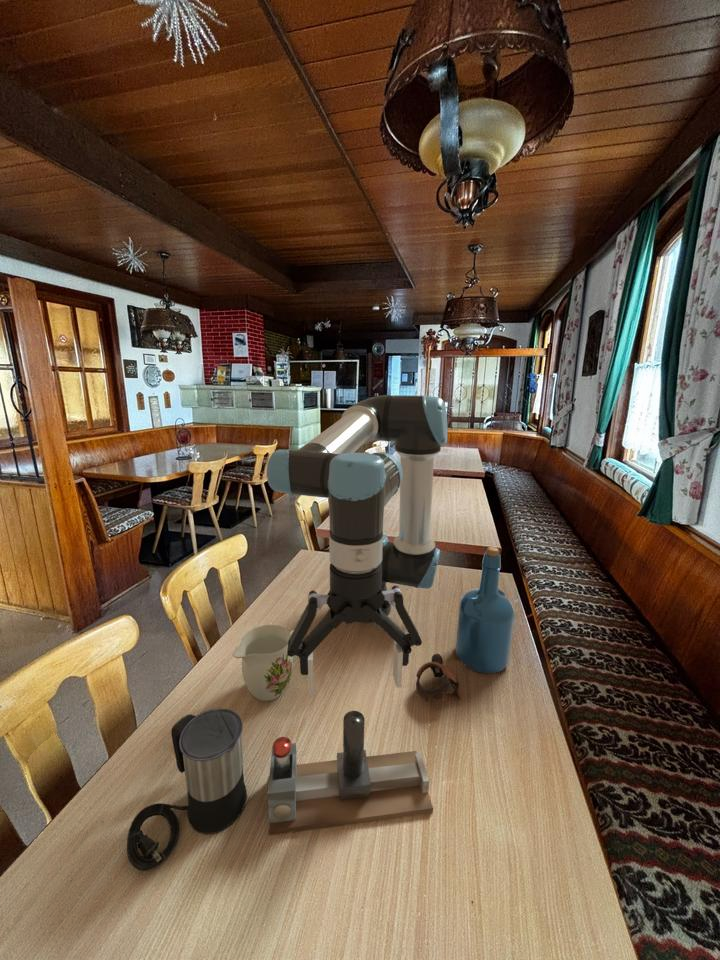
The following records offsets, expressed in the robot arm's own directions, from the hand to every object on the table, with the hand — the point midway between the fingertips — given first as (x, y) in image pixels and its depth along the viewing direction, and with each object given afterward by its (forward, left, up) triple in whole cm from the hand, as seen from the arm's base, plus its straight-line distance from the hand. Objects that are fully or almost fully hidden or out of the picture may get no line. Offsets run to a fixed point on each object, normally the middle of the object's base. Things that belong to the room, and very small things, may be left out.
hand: (354, 685), depth 60 cm
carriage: (0, 0, -20) cm, 20 cm away
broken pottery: (-19, +22, -22) cm, 36 cm away
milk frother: (+2, -26, -22) cm, 34 cm away
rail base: (0, -1, -21) cm, 21 cm away
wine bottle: (-29, +36, -22) cm, 51 cm away
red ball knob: (0, -12, -15) cm, 19 cm away
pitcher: (-25, -16, -22) cm, 36 cm away
